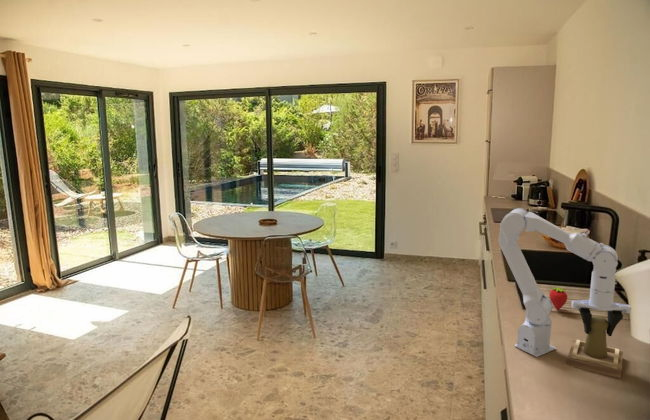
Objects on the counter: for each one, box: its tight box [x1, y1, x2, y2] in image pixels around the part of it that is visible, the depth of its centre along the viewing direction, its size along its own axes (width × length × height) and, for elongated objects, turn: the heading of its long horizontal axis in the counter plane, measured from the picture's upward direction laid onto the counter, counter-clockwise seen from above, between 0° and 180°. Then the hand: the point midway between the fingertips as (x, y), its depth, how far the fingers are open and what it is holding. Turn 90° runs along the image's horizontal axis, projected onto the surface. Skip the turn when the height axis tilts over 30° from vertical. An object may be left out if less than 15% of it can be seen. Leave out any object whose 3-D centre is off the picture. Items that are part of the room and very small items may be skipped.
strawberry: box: [548, 286, 568, 311], centre depth 164 cm, size 6×8×10 cm
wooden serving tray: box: [566, 339, 624, 379], centre depth 128 cm, size 13×13×3 cm
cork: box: [583, 315, 609, 358], centre depth 128 cm, size 6×6×11 cm
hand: (597, 333), depth 127 cm, fingers closed on cork, 5 cm apart
